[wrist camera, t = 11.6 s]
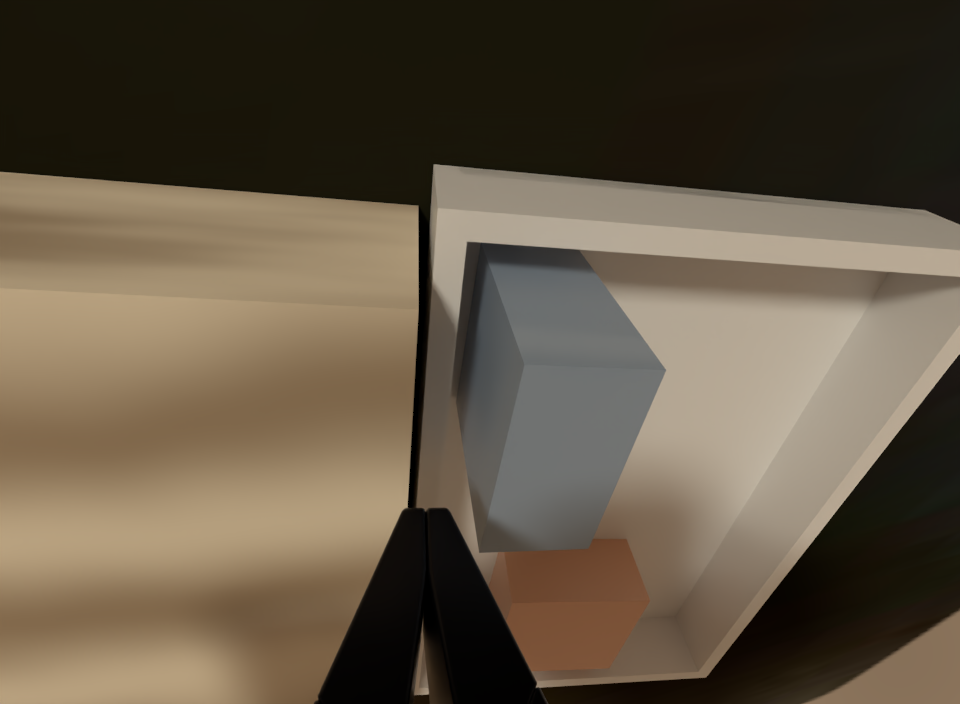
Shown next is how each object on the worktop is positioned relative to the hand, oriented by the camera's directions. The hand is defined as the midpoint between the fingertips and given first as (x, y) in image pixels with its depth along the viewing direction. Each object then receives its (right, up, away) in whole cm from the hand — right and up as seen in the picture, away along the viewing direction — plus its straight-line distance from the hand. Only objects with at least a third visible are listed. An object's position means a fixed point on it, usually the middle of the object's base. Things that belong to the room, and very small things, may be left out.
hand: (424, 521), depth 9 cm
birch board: (-7, -1, +7) cm, 10 cm away
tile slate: (+1, +2, +2) cm, 3 cm away
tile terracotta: (+4, -8, +9) cm, 13 cm away
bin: (+5, -1, +9) cm, 10 cm away
